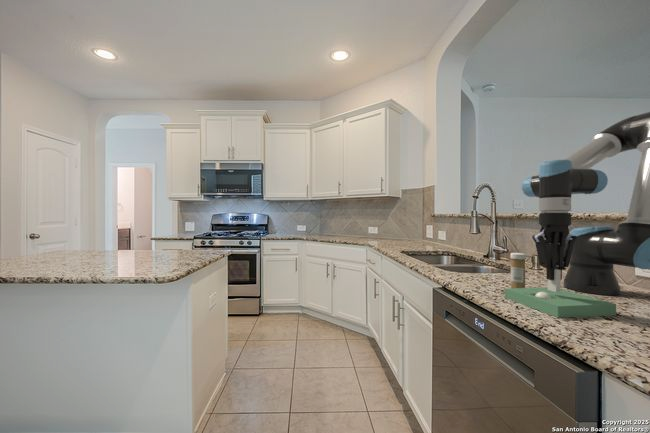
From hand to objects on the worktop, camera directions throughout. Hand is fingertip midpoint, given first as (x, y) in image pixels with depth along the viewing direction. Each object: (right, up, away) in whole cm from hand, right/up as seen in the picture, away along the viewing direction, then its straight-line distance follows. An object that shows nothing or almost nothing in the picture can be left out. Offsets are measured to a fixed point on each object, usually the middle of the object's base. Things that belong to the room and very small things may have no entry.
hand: (553, 290), depth 83 cm
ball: (-4, -2, 0) cm, 4 cm away
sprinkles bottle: (+1, -5, +17) cm, 18 cm away
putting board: (0, -5, 0) cm, 5 cm away
